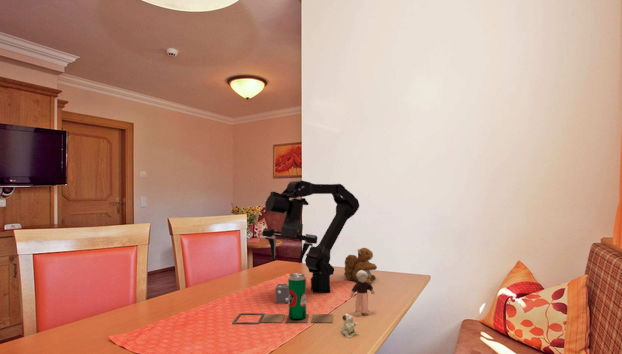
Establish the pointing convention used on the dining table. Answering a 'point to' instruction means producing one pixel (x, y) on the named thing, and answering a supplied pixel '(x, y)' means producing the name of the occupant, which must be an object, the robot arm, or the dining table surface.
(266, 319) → the game track
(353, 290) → the grandmother figurine
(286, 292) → the die
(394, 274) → the dining table surface
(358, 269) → the stuffed squirrel
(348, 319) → the toy dog
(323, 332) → the dining table surface
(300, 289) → the soda can
